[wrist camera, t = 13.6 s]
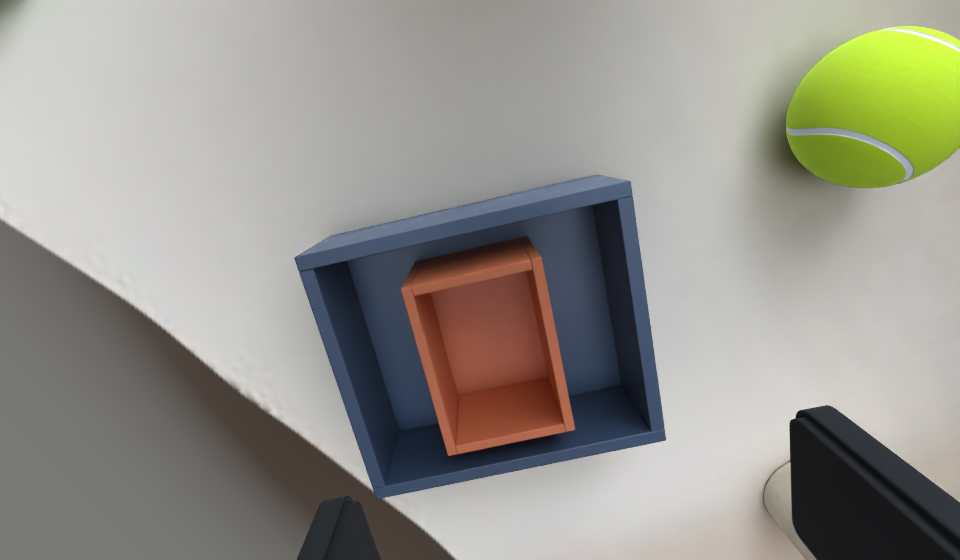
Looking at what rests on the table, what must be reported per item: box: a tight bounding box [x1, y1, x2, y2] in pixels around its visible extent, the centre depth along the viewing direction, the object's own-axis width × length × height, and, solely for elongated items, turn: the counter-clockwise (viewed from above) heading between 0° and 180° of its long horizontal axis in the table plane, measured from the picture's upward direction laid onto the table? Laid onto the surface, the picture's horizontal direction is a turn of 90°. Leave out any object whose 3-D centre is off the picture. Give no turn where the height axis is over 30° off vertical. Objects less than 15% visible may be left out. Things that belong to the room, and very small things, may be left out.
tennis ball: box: [786, 26, 960, 188], centre depth 22 cm, size 7×7×7 cm
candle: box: [764, 462, 817, 560], centre depth 27 cm, size 6×6×10 cm
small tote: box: [401, 236, 575, 456], centre depth 25 cm, size 9×6×6 cm
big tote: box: [295, 175, 666, 499], centre depth 25 cm, size 13×15×6 cm
